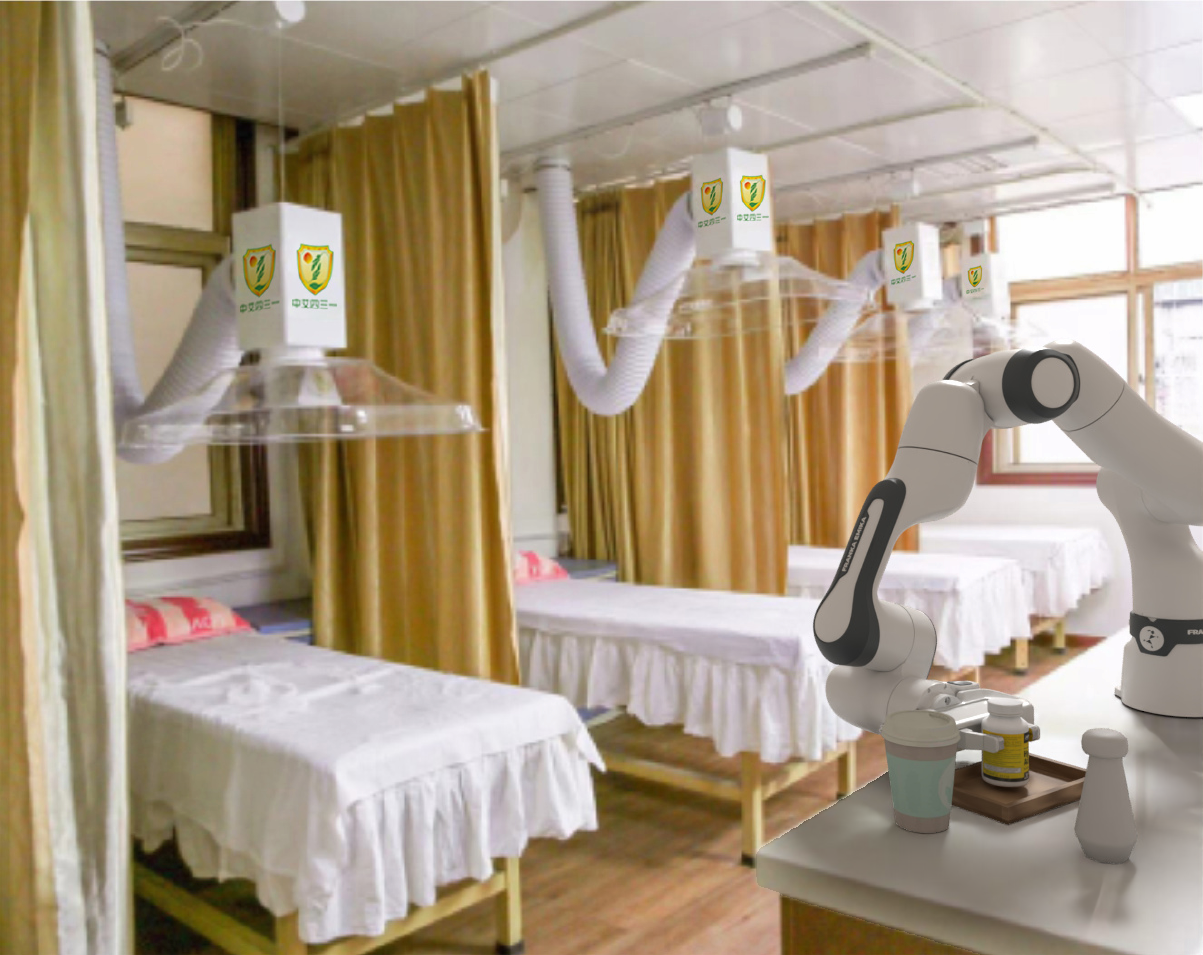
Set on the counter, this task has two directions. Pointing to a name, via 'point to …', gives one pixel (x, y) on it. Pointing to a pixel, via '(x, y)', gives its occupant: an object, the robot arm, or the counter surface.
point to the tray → (1018, 790)
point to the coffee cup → (921, 767)
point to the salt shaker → (1105, 799)
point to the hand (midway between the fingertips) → (1018, 739)
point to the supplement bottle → (1006, 744)
